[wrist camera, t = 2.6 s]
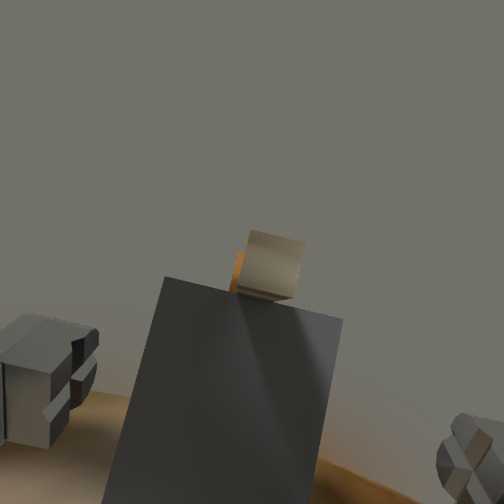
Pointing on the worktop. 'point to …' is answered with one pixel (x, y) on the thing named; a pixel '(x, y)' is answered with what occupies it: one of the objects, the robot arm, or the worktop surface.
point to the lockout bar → (268, 267)
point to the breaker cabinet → (225, 402)
